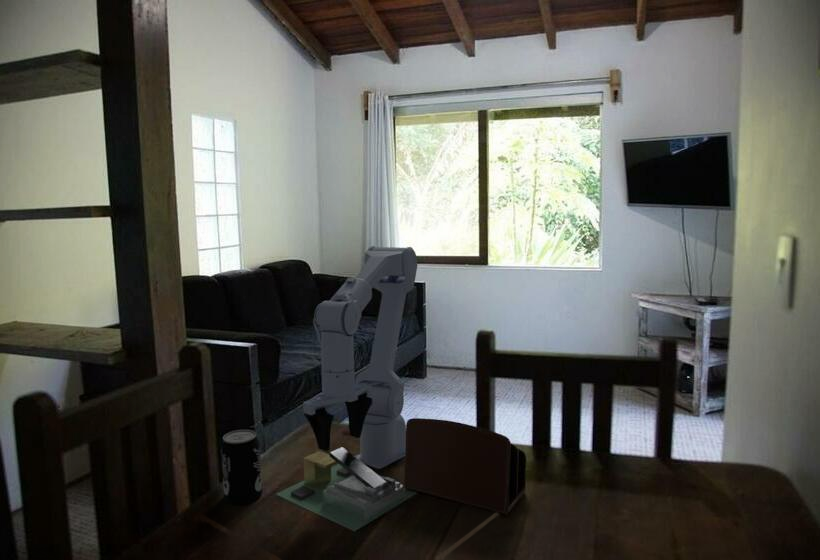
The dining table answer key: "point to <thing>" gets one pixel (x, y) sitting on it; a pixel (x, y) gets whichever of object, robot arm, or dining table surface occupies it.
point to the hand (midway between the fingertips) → (340, 442)
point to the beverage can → (241, 467)
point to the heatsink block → (362, 497)
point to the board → (314, 502)
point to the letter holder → (463, 464)
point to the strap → (358, 469)
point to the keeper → (317, 468)
